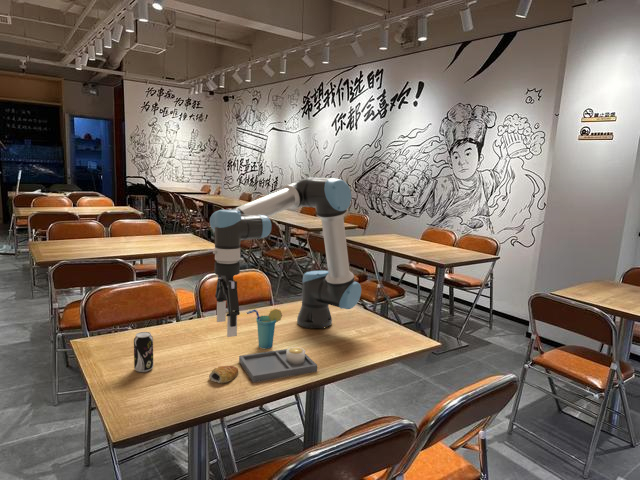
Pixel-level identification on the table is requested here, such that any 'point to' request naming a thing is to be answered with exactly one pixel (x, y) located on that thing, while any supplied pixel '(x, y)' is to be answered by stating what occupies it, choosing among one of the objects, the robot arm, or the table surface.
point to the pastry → (223, 374)
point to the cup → (267, 327)
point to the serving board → (277, 364)
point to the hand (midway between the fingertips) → (226, 328)
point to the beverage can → (143, 352)
